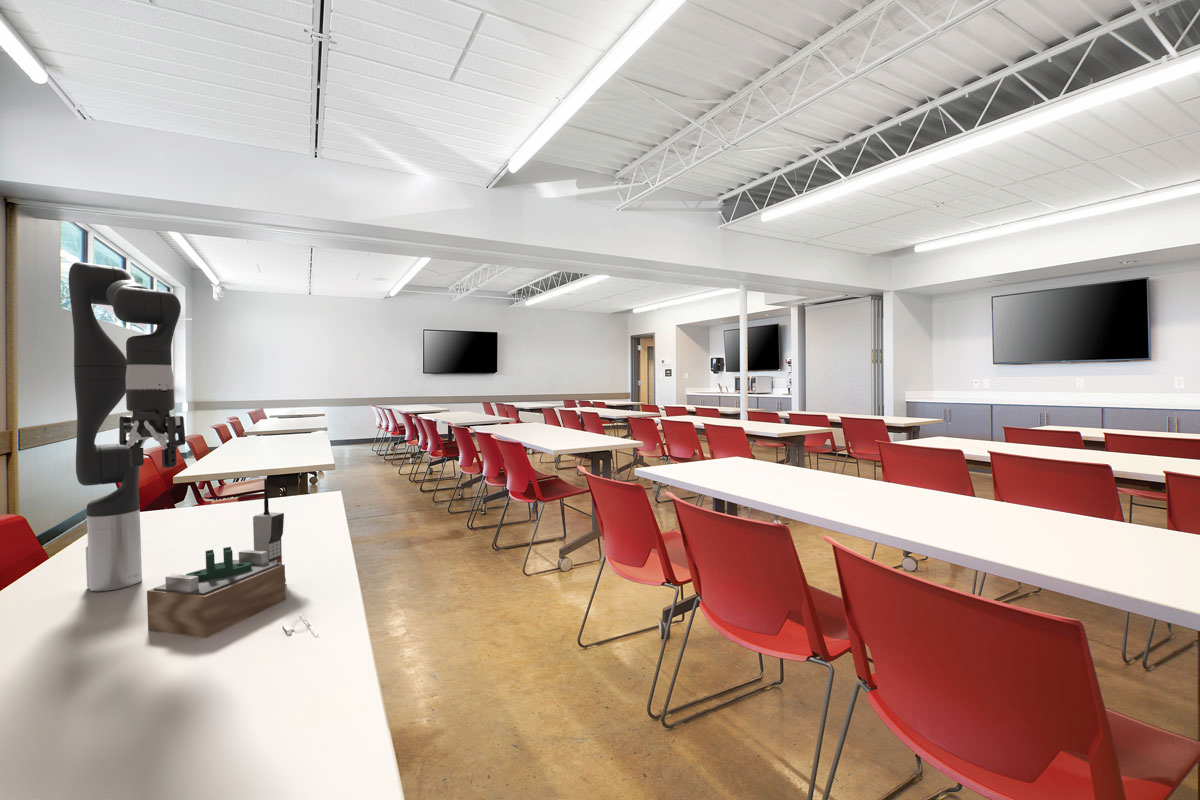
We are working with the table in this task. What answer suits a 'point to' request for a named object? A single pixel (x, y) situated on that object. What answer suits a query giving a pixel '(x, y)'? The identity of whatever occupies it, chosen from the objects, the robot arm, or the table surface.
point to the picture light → (289, 630)
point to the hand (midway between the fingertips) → (153, 466)
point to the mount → (220, 566)
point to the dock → (215, 598)
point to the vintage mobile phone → (268, 532)
